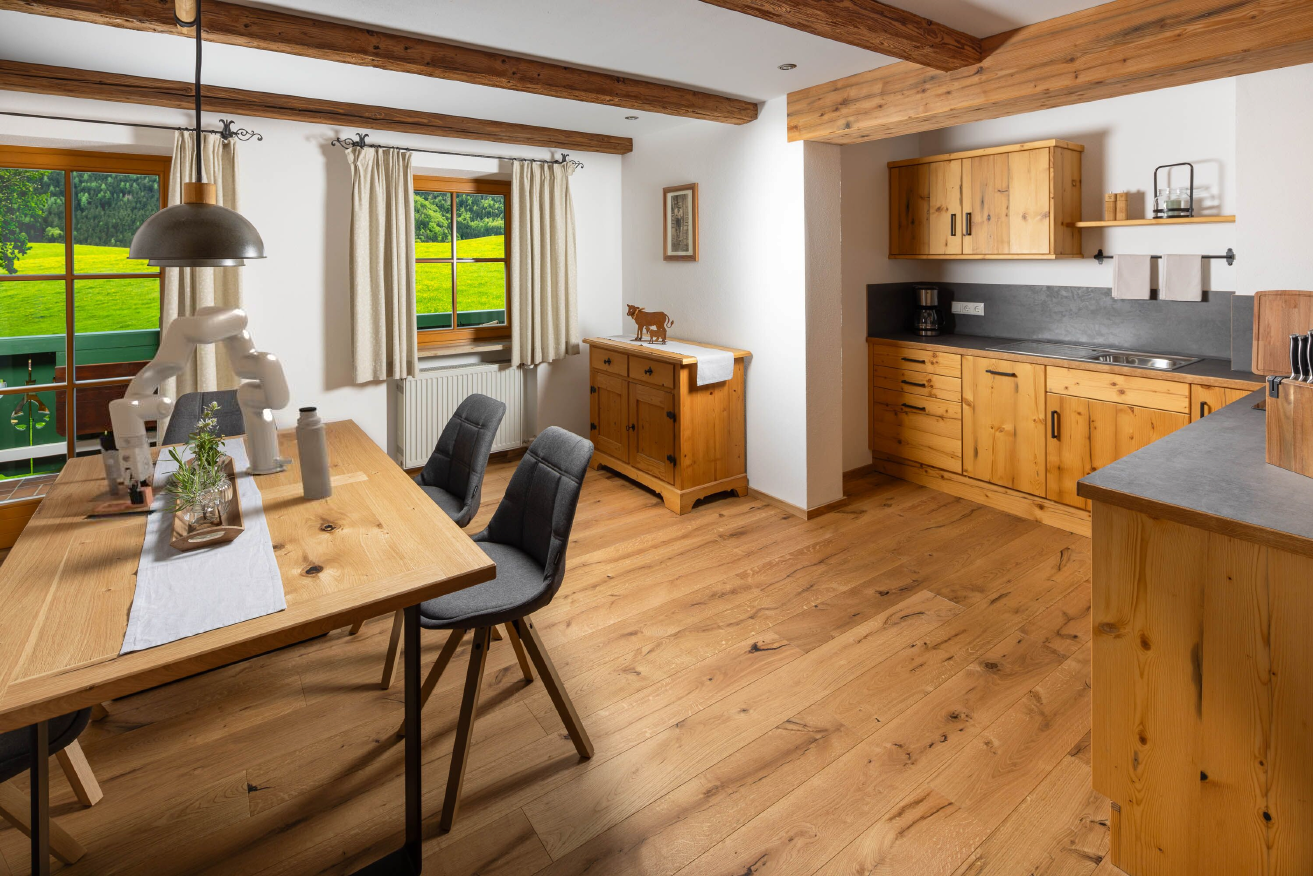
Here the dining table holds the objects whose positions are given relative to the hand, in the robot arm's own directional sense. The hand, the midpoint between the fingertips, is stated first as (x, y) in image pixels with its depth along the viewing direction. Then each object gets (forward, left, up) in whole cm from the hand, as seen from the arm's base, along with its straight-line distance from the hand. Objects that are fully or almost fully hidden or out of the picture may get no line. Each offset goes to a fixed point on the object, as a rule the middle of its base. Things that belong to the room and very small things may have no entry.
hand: (142, 500), depth 218 cm
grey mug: (+20, -42, -3) cm, 47 cm away
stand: (+9, -14, -3) cm, 17 cm away
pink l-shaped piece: (+4, 0, -3) cm, 5 cm away
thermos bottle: (-48, -1, -3) cm, 48 cm away
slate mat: (+5, 0, -3) cm, 5 cm away
